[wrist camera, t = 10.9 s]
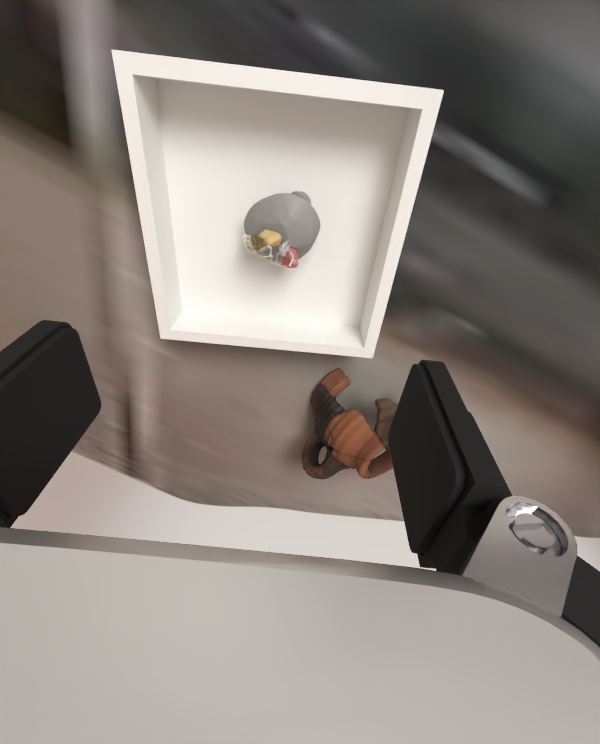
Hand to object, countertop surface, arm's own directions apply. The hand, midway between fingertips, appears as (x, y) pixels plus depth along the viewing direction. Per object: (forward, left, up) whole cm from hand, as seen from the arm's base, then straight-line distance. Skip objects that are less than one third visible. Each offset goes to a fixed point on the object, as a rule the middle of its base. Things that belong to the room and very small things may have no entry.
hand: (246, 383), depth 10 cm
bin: (0, 0, -18) cm, 18 cm away
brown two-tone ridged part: (-8, +17, -18) cm, 26 cm away
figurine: (0, 0, -17) cm, 17 cm away
